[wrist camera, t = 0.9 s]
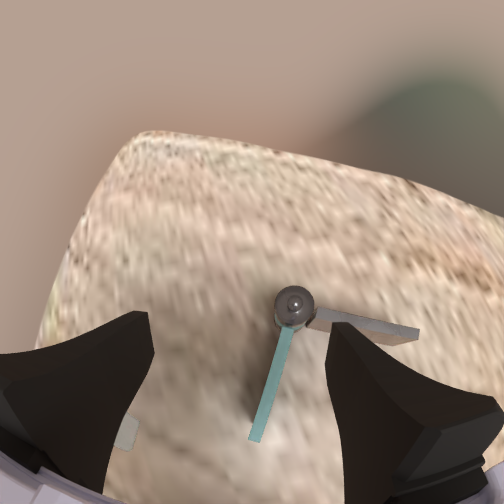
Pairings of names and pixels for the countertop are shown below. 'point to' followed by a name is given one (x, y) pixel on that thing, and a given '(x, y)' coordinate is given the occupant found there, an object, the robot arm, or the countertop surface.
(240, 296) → the countertop surface
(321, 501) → the countertop surface
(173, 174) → the countertop surface
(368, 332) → the fixed steel leaf
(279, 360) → the teal swing leaf
